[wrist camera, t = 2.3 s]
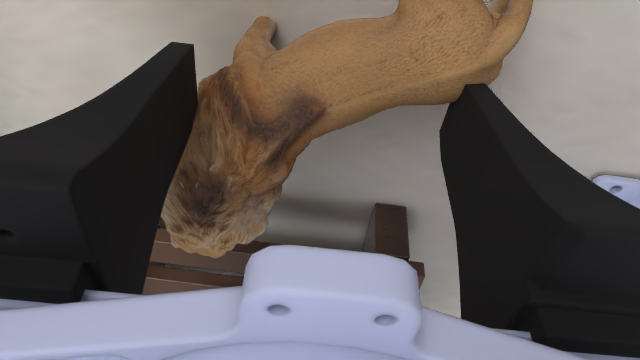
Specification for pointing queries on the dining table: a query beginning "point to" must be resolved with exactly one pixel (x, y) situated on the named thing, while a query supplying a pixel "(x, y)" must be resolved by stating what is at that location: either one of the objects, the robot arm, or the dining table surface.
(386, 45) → the lion figurine
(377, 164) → the dining table surface
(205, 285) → the rack
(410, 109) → the dining table surface
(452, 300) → the dining table surface
